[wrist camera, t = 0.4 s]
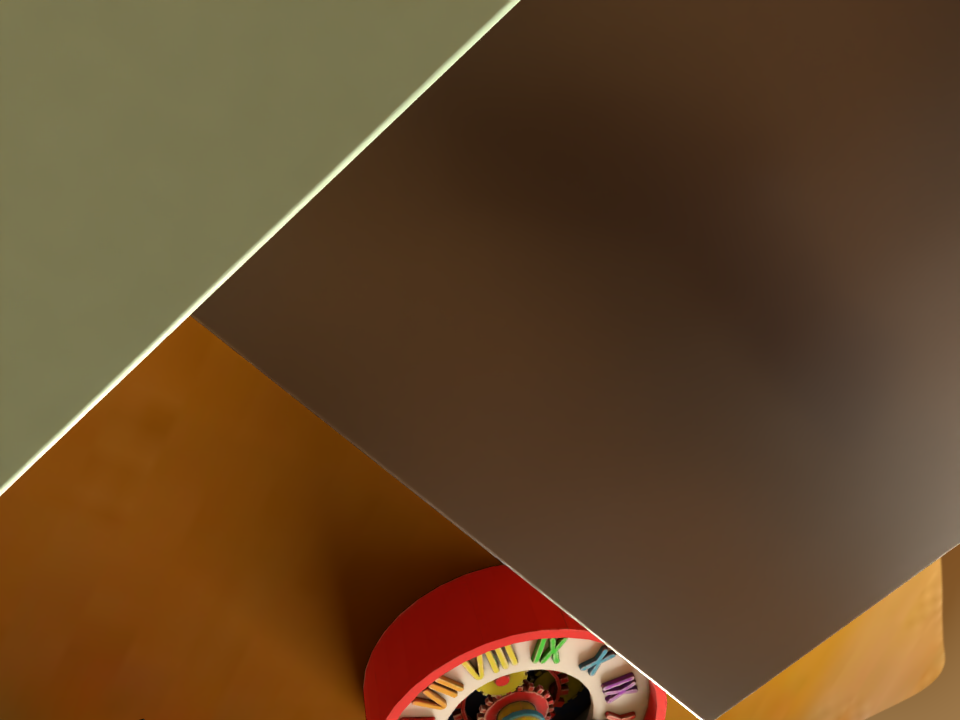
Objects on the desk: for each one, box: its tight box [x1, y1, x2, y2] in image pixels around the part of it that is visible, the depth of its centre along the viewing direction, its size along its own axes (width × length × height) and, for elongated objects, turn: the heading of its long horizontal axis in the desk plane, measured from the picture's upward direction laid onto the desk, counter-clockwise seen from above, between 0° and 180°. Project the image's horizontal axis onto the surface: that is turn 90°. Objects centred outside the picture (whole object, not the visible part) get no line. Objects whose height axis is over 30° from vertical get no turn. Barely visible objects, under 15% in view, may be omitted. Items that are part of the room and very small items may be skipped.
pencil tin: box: [0, 0, 520, 496], centre depth 6 cm, size 22×4×3 cm, turn 130°
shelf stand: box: [190, 0, 960, 720], centre depth 21 cm, size 10×20×28 cm, turn 40°
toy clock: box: [363, 565, 667, 720], centre depth 51 cm, size 20×6×20 cm
